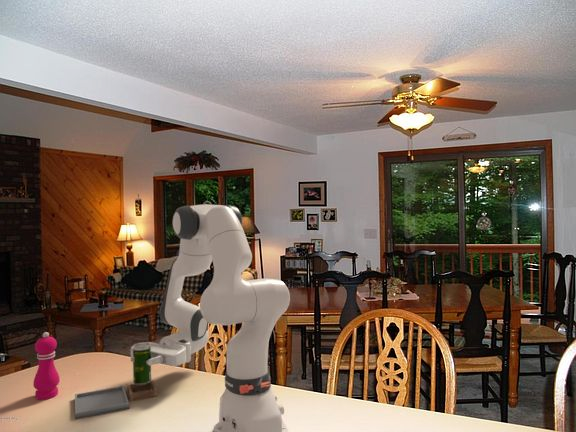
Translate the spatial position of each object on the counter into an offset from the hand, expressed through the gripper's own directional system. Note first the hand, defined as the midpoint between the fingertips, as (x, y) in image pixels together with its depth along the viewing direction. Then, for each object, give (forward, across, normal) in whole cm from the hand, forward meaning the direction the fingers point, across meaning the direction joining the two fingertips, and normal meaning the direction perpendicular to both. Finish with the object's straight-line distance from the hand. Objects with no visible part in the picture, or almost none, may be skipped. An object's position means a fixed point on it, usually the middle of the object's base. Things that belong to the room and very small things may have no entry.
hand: (139, 361), depth 138 cm
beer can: (-1, 0, +7) cm, 7 cm away
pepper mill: (+14, -26, +11) cm, 31 cm away
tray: (+10, -6, +11) cm, 16 cm away
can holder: (-1, 0, +11) cm, 11 cm away
